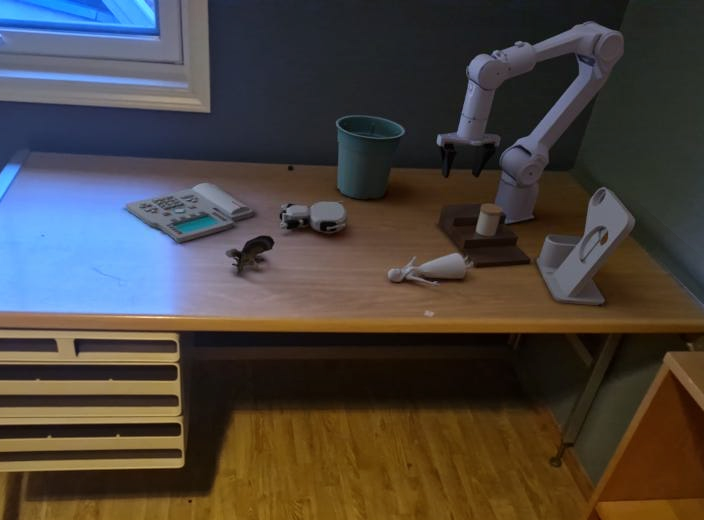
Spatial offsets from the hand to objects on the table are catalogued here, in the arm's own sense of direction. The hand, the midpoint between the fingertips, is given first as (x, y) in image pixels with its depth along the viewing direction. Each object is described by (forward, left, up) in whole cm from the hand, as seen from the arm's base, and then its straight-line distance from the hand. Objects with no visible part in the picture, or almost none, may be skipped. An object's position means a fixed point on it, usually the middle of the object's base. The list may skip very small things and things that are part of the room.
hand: (459, 176), depth 151 cm
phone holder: (-4, +33, -11) cm, 35 cm away
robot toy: (+34, -8, -11) cm, 36 cm away
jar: (+2, +13, -7) cm, 15 cm away
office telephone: (+56, -23, -11) cm, 61 cm away
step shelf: (+2, +13, -10) cm, 17 cm away
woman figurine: (+23, +20, -11) cm, 32 cm away
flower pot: (+12, -21, -11) cm, 26 cm away
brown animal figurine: (+54, +3, -11) cm, 55 cm away
